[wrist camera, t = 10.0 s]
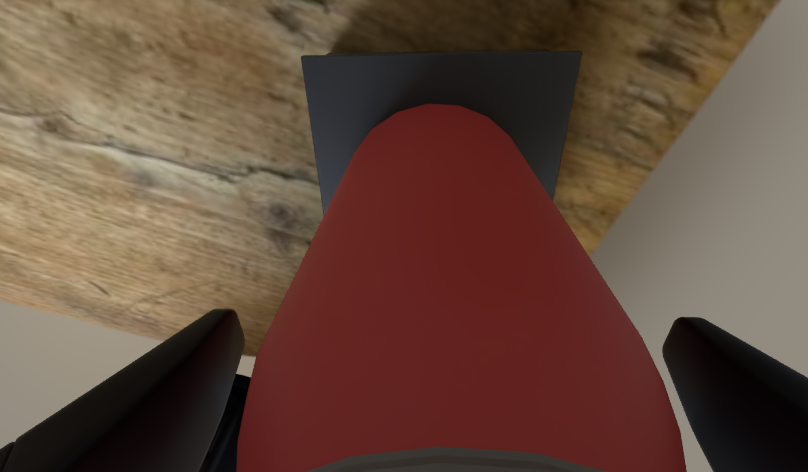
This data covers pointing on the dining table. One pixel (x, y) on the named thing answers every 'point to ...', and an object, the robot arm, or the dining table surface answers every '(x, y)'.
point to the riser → (440, 99)
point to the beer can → (451, 326)
